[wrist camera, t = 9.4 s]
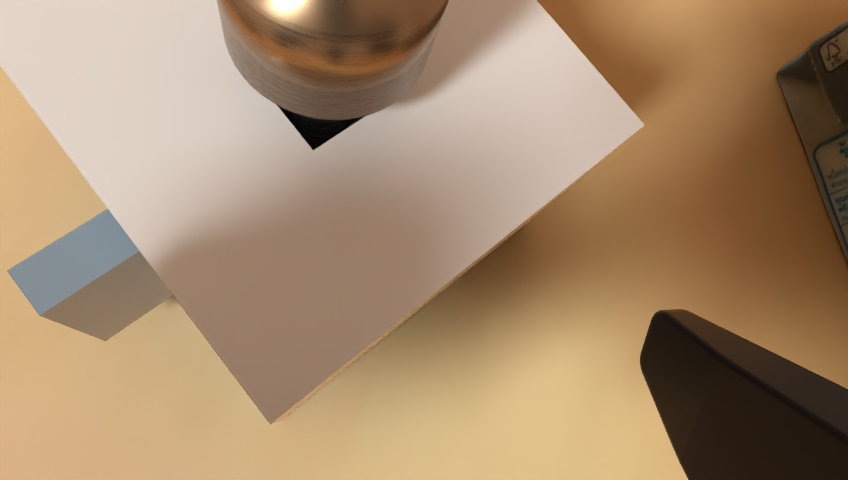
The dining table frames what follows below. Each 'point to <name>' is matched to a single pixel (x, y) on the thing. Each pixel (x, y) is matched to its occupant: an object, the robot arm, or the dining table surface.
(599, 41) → the dining table surface
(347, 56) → the joystick lever
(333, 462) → the dining table surface
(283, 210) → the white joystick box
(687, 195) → the dining table surface
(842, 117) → the dark grey rectangular box
